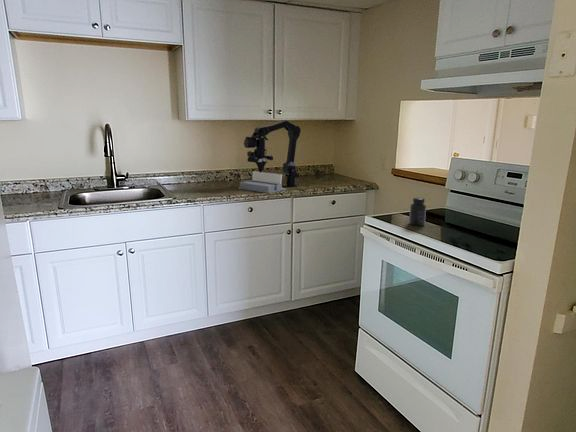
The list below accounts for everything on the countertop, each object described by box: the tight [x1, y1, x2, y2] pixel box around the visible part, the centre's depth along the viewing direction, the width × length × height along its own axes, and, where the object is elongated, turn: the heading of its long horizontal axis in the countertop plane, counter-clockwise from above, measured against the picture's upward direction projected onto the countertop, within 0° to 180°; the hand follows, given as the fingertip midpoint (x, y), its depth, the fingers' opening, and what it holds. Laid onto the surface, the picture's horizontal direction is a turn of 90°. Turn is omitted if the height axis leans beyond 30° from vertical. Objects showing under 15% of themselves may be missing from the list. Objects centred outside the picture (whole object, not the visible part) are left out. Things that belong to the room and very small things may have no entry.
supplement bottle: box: [408, 196, 427, 227], centre depth 189 cm, size 7×7×12 cm
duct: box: [237, 179, 287, 194], centre depth 273 cm, size 17×26×4 cm, turn 53°
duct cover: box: [251, 170, 283, 184], centre depth 275 cm, size 6×24×1 cm
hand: (260, 172), depth 270 cm, fingers closed
